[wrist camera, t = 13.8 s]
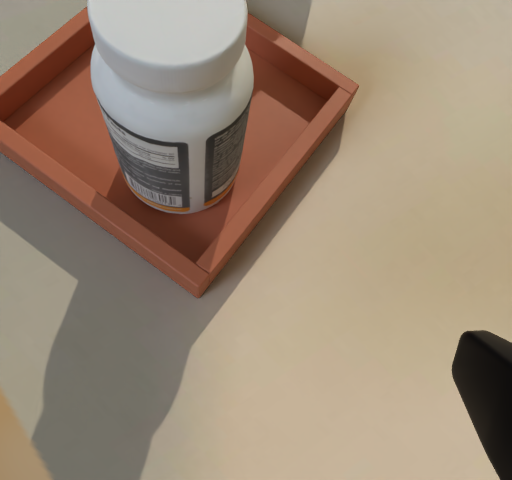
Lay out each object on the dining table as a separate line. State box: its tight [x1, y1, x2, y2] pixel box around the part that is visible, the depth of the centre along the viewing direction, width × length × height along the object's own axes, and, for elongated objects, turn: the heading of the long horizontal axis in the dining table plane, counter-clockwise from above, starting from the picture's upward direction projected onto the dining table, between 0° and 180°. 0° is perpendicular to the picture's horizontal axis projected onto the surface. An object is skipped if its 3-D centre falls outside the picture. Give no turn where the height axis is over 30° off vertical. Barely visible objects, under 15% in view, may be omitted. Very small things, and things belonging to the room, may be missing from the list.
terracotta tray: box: [0, 7, 359, 298], centre depth 23 cm, size 14×14×2 cm
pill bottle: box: [87, 0, 254, 214], centre depth 18 cm, size 6×6×10 cm
